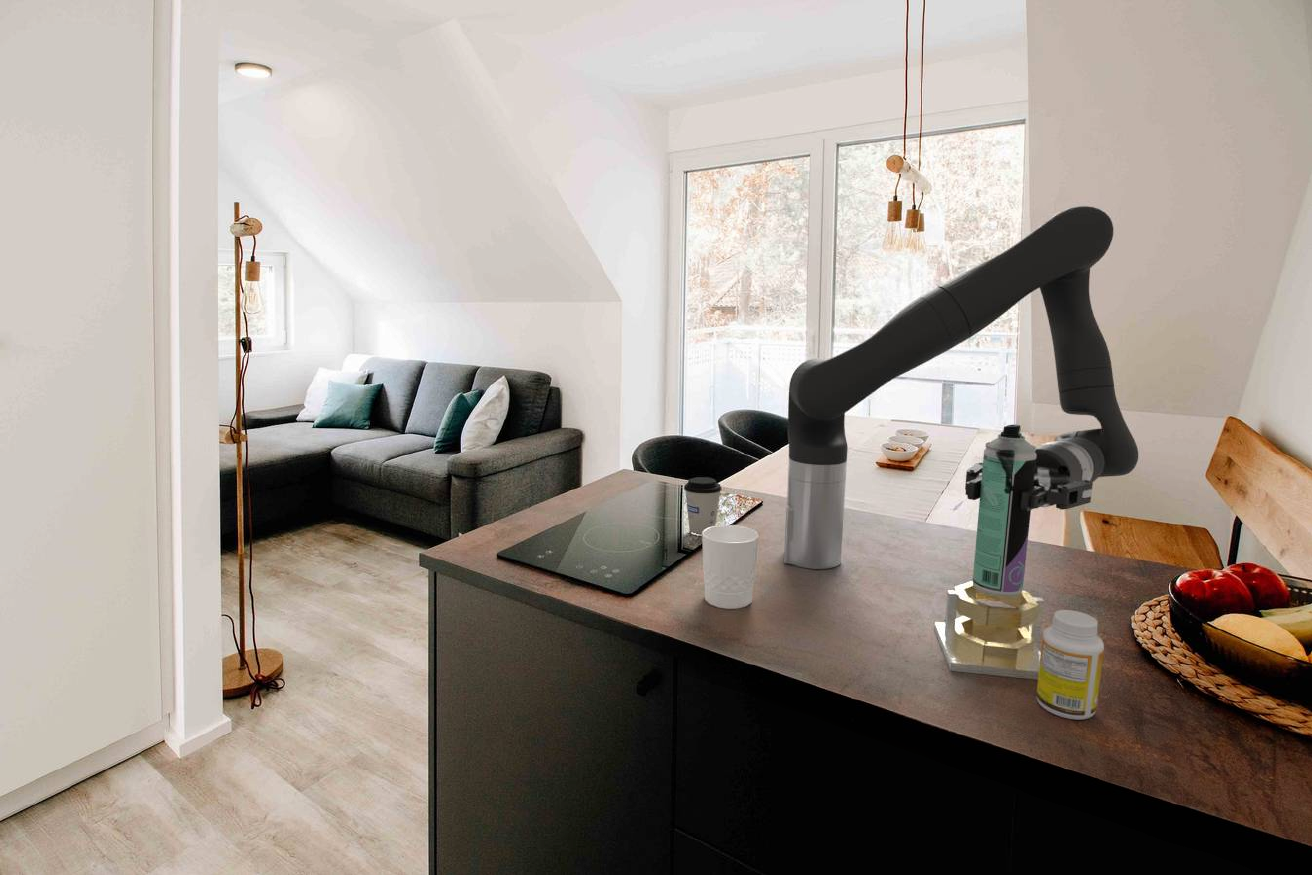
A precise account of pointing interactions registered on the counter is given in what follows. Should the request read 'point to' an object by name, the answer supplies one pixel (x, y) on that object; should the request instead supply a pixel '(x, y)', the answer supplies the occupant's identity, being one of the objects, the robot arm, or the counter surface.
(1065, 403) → the robot arm
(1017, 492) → the spray can
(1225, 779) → the counter surface
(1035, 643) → the collar stand
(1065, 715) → the supplement bottle
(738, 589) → the white cup
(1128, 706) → the counter surface
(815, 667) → the counter surface
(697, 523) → the coffee cup
